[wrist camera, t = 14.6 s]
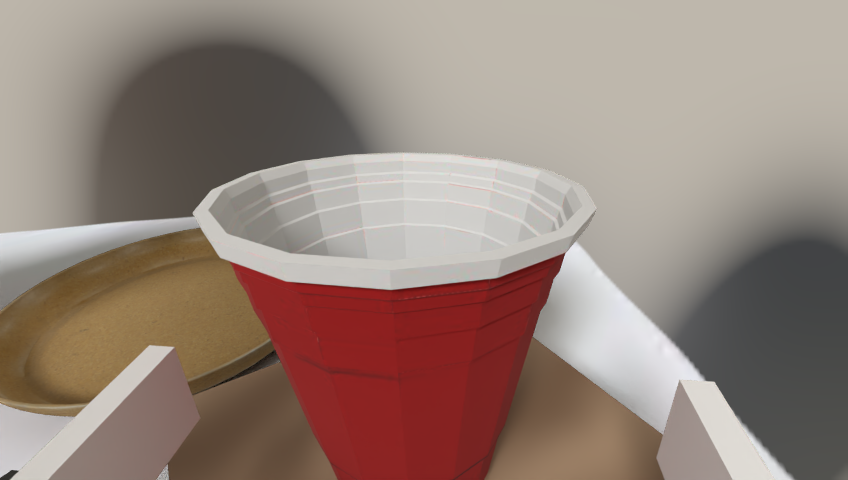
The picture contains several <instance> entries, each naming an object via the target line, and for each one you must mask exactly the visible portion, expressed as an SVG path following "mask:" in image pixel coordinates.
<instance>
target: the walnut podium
mask: <svg viewBox="0 0 848 480" xmlns="http://www.w3.org/2000/svg"><path fill="white" fill-rule="evenodd" d="M192 397H193V399H194V402H195V405H196V408H197V410H198V413H199V416H200V419H199V421H198V422H197V423H196V425H195V426H194V428H193V429H192V430H191V432H190V433H189V435H188V436H187V437H186V439H185V440H184V441H183V443H182V444H181V446H180V447H179V448H178V450H177V451H176V453H175V454H174V455H173V457H172V458H171V459H170V461H169V462H168V472H169V480H337V477H336V475H335V473H334V471H333V468H332V466H331V464H330V462H329V460H328V458H327V457H326V455H325V453H324V451H323V450H322V448H321V446H320V444H319V443H318V441H317V439H316V438H315V436H314V434H313V432H312V430H311V427H310V425H309V423H308V421H307V419H306V416H305V414H304V412H303V410H302V408H301V405H300V403H299V401H298V399H297V397H296V394H295V392H294V390H293V388H292V386H291V383H290V381H289V379H288V377H287V375H286V372H285V370H284V368H283V366H282V364H281V362H279V363H276V364H273V365H271V366H268V367H266V368H263V369H260V370H258V371H255V372H252V373H250V374H247V375H245V376H242V377H239V378H237V379H234V380H231V381H229V382H226V383H224V384H221V385H218V386H216V387H213V388H210V389H208V390H205V391H203V392H200V393H197V394H195V395H192ZM662 437H663V435H662V434H661V433H659V432H658V431H657V430H655V429H654V428H653V427H652V426H650V425H649V424H648V423H646V422H645V421H644V420H642V419H641V418H640V417H638V416H637V415H636V414H634V413H633V412H632V411H630V410H629V409H628V408H626V407H625V406H624V405H622V404H621V403H620V402H618V401H617V400H616V399H614V398H613V397H612V396H610V395H609V394H608V393H606V392H605V391H604V390H602V389H601V388H600V387H598V386H597V385H596V384H594V383H593V382H592V381H590V380H589V379H588V378H586V377H585V376H584V375H582V374H581V373H580V372H578V371H577V370H576V369H575V368H573V367H572V366H571V365H569V364H568V363H567V362H565V361H564V360H563V359H561V358H560V357H559V356H557V355H556V354H555V353H553V352H552V351H551V350H549V349H548V348H547V347H545V346H544V345H543V344H541V343H540V342H539V341H537V340H536V339H535V338H533V337H532V339H531V343H530V346H529V349H528V352H527V355H526V359H525V362H524V365H523V368H522V371H521V375H520V378H519V381H518V384H517V387H516V391H515V394H514V397H513V400H512V403H511V407H510V410H509V413H508V416H507V419H506V423H505V426H504V428H503V430H502V431H501V433H500V435H499V437H498V439H497V443H496V446H495V449H494V453H493V456H492V460H491V463H490V467H489V470H488V473H487V475H486V477H485V479H484V480H665V479H664V477H663V474H662V471H661V469H660V466H659V463H658V461H657V458H656V457H657V454H658V451H659V447H660V444H661V441H662Z"/></svg>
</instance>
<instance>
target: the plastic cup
mask: <svg viewBox="0 0 848 480" xmlns="http://www.w3.org/2000/svg"><path fill="white" fill-rule="evenodd" d="M596 210H597V208H596V206H595V204H594V203H593V201H592V199H591V198H590V196H589V194H588V193H587V191H586V189H585V188H584V186H582V185H580V184H578V183H575V182H573V181H571V180H569V179H567V178H565V177H563V176H561V175H559V174H557V173H554V172H552V171H550V170H547V169H542V168H538V167H534V166H530V165H525V164H521V163H517V162H513V161H508V160H504V159H495V158H486V157H477V156H469V155H460V154H443V153H442V154H441V153H409V152H399V153H378V154H357V155H345V156H337V157H330V158H322V159H314V160H306V161H299V162H295V163H290V164H286V165H282V166H278V167H273V168H269V169H265V170H261V171H257V172H253V173H249V174H247V175H245V176H243V177H240V178H238V179H236V180H233V181H231V182H229V183H227V184H224V185H222V186H220V187H217V188H215V189H213V190H211V191H210V192H209V194H208V195H207V196H206V197H205V199H204V200H203V201H202V202H201V203H200V205H199V206H198V207H197V208H196V210H195V211H194V212H193V215H194V217H195V219H196V220H197V222H198V224H199V226H200V228H201V230H202V231H203V233H204V234H205V236H206V237H207V239H208V240H209V242H210V243H211V245H212V246H213V248H214V249H215V251H216V252H217V254H218V256H219V257H220V258H222V259H225V260H228V261H229V262H230V264H231V265H232V267H233V270H234V272H235V275H236V277H237V279H238V281H239V282H240V284H241V285H242V287H243V288H244V290H245V291H246V293H247V295H248V297H249V300H250V302H251V305H252V307H253V310H254V312H255V313H256V315H257V316H258V318H259V319H260V321H261V323H262V324H263V326H264V327H265V329H266V331H267V333H268V335H269V337H270V339H271V342H272V344H273V346H274V348H275V350H276V353H277V355H278V357H279V359H280V361H281V364H282V366H283V368H284V370H285V372H286V375H287V377H288V379H289V381H290V383H291V386H292V388H293V390H294V392H295V394H296V397H297V399H298V401H299V403H300V405H301V408H302V410H303V412H304V414H305V416H306V419H307V421H308V423H309V425H310V427H311V430H312V432H313V434H314V436H315V438H316V439H317V441H318V443H319V444H320V446H321V448H322V450H323V451H324V453H325V455H326V457H327V458H328V460H329V462H330V464H331V466H332V468H333V471H334V473H335V475H336V477H337V480H484V479H485V477H486V475H487V473H488V470H489V467H490V463H491V460H492V456H493V453H494V449H495V446H496V443H497V439H498V437H499V435H500V433H501V431H502V430H503V428H504V426H505V423H506V419H507V416H508V413H509V410H510V407H511V403H512V400H513V397H514V394H515V391H516V387H517V384H518V381H519V378H520V375H521V371H522V368H523V365H524V362H525V359H526V355H527V352H528V349H529V346H530V343H531V339H532V336H533V333H534V330H535V327H536V323H537V320H538V317H539V314H540V311H541V309H542V308H543V306H544V305H545V304H546V302H547V299H548V296H549V292H550V289H551V286H552V283H553V279H554V278H555V277H556V275H557V274H558V273H559V271H560V268H561V265H562V262H563V259H564V256H565V253H566V252H567V251H568V250H569V249H570V247H571V246H572V245H573V244H574V242H575V241H576V240H577V239H578V238H579V236H580V235H581V234H582V233H583V231H584V230H585V229H586V228H587V227H588V225H589V224H590V222H591V220H592V218H593V216H594V214H595V212H596Z"/></svg>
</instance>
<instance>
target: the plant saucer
mask: <svg viewBox="0 0 848 480" xmlns="http://www.w3.org/2000/svg"><path fill="white" fill-rule="evenodd" d="M149 345H152V346H167V347H175V350H176V352H177V355H178V358H179V361H180V363H181V366H182V369H183V372H184V374H185V377H186V380H187V383H188V386H189V388H190V391H191V394H195V393H198V392H200V391H203V390H205V389H207V388H210V387H212V386H214V385H216V384H219V383H221V382H223V381H225V380H227V379H229V378H231V377H233V376H235V375H237V374H238V373H240V372H242V371H244V370H245V369H247V368H249V367H250V366H252V365H254V364H255V363H257V362H258V361H260V360H261V359H263V358H264V357H265V356H267V355H268V354H269V353H271V352H272V351H273V350H275V348H274V346H273V344H272V342H271V339H270V337H269V335H268V333H267V331H266V329H265V327H264V326H263V324H262V323H261V321H260V319H259V318H258V316H257V315H256V313H255V312H254V310H253V307H252V305H251V302H250V300H249V297H248V295H247V293H246V291H245V290H244V288H243V287H242V285H241V284H240V282H239V281H238V279H237V277H236V275H235V272H234V270H233V267H232V265H231V264H230V262H229V261H228V260H225V259H222V258H220V257H219V256H218V254H217V252H216V251H215V249H214V248H213V246H212V245H211V243H210V242H209V240H208V239H207V237H206V236H205V234H204V233H203V231H202V230H201V228H196V229H189V230H183V231H179V232H174V233H169V234H165V235H160V236H157V237H153V238H149V239H145V240H141V241H138V242H134V243H131V244H128V245H125V246H122V247H119V248H116V249H113V250H110V251H107V252H105V253H102V254H99V255H97V256H94V257H92V258H89V259H87V260H85V261H82V262H80V263H78V264H76V265H74V266H71V267H69V268H67V269H65V270H63V271H61V272H59V273H57V274H55V275H53V276H52V277H50V278H48V279H46V280H44V281H42V282H41V283H39V284H37V285H36V286H34V287H33V288H31V289H29V290H28V291H26V292H25V293H23V294H22V295H20V296H19V297H17V298H16V299H15V300H13V301H12V302H11V303H9V304H8V305H7V306H6V307H4V308H3V309H2V310H1V311H0V403H1V404H4V405H6V406H9V407H12V408H15V409H19V410H22V411H27V412H32V413H38V414H44V415H54V416H72V417H75V416H77V415H78V414H79V413H80V412H81V411H82V410H83V409H84V408H85V407H86V406H87V405H88V404H89V403H90V402H91V401H92V400H93V399H94V398H95V397H96V396H97V395H98V394H99V393H100V392H102V391H103V390H104V389H105V388H106V387H107V386H108V385H109V384H110V383H111V382H112V381H113V380H114V379H115V378H116V377H117V376H118V375H119V374H120V373H121V372H122V371H123V370H124V369H125V368H126V367H127V366H129V365H130V364H131V363H132V362H133V361H134V360H135V359H136V358H137V357H138V356H139V355H140V354H141V353H142V352H143V351H144V350H145V349H146V348H147V347H148V346H149Z"/></svg>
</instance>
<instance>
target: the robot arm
mask: <svg viewBox="0 0 848 480" xmlns="http://www.w3.org/2000/svg"><path fill="white" fill-rule="evenodd" d="M199 419H200V416H199V413H198V410H197V408H196V405H195V402H194V399H193V397H192V394H191V391H190V388H189V386H188V383H187V380H186V377H185V374H184V372H183V369H182V366H181V363H180V361H179V358H178V355H177V352H176V350H175V347H167V346H152V345H149V346H148V347H147V348H146V349H145V350H144V351H143V352H142V353H141V354H140V355H139V356H138V357H137V358H136V359H135V360H134V361H133V362H132V363H131V364H130V365H129V366H127V367H126V368H125V369H124V370H123V371H122V372H121V373H120V374H119V375H118V376H117V377H116V378H115V379H114V380H113V381H112V382H111V383H110V384H109V385H108V386H107V387H106V388H105V389H104V390H103V391H102V392H100V393H99V394H98V395H97V396H96V397H95V398H94V399H93V400H92V401H91V402H90V403H89V404H88V405H87V406H86V407H85V408H84V409H83V410H82V411H81V412H80V413H79V414H78V415H77V416H76V417H75V418H74V419H72V420H71V421H70V422H69V423H68V424H67V425H66V426H65V427H64V428H63V429H62V430H61V431H60V432H59V433H58V434H57V435H56V436H55V437H54V438H53V439H52V440H51V441H50V442H49V443H48V444H47V445H45V446H44V447H43V448H42V449H41V450H40V451H39V452H38V453H37V454H36V455H35V456H34V457H33V458H32V459H31V460H30V461H29V462H28V463H27V464H26V465H25V466H24V467H23V468H22V469H21V470H20V471H16V470H11V471H10V472H8V473H7V474H5V475H4V476H2V477H1V478H0V480H156V479H157V478H158V476H159V475H160V473H161V472H162V471H163V469H164V468H165V466H166V465H167V464H168V462H169V461H170V459H171V458H172V457H173V455H174V454H175V453H176V451H177V450H178V448H179V447H180V446H181V444H182V443H183V441H184V440H185V439H186V437H187V436H188V435H189V433H190V432H191V430H192V429H193V428H194V426H195V425H196V423H197V422H198V421H199ZM656 458H657V461H658V463H659V466H660V469H661V471H662V474H663V477H664V479H665V480H775V479H774V477H773V476H772V474H771V473H770V471H769V469H768V468H767V466H766V464H765V463H764V461H763V460H762V458H761V456H760V455H759V453H758V452H757V450H756V448H755V447H754V445H753V444H752V442H751V440H750V439H749V437H748V436H747V434H746V432H745V431H744V429H743V427H742V426H741V424H740V423H739V421H738V419H737V418H736V416H735V415H734V413H733V411H732V410H731V408H730V407H729V405H728V403H727V402H726V400H725V399H724V397H723V396H722V394H721V392H720V391H719V389H718V387H717V386H716V384H715V382H707V381H692V380H679V383H678V387H677V390H676V393H675V397H674V400H673V404H672V407H671V410H670V414H669V417H668V420H667V424H666V427H665V430H664V434H663V437H662V441H661V444H660V447H659V451H658V454H657V457H656Z"/></svg>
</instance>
